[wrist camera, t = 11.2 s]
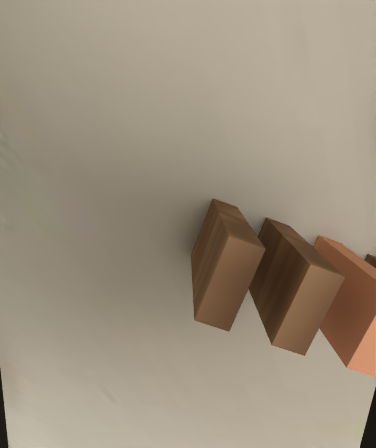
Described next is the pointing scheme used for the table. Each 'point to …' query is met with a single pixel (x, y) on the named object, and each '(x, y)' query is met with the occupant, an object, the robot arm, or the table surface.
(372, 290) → the domino
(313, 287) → the domino
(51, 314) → the table surface
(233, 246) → the domino
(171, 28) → the table surface
